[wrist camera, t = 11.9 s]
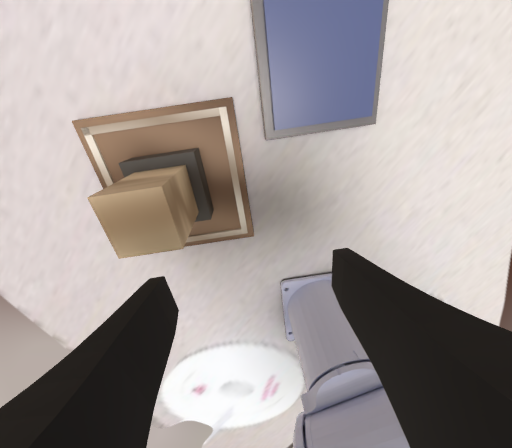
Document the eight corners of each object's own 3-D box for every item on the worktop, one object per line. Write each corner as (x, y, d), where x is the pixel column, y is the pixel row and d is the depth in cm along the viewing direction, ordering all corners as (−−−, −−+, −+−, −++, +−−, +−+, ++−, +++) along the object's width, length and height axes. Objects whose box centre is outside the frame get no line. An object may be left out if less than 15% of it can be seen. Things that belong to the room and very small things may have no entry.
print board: (253, 233, 20) (254, 237, 19) (136, 250, 20) (133, 255, 19) (232, 97, 15) (232, 96, 15) (77, 120, 15) (69, 121, 14)
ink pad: (368, 123, 17) (379, 124, 15) (265, 138, 17) (267, 140, 15) (381, -22, 13) (398, -38, 12) (250, -3, 13) (251, -17, 12)
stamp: (213, 209, 18) (200, 257, 12) (155, 218, 18) (111, 271, 12) (198, 147, 16) (172, 167, 10) (131, 157, 16) (62, 184, 10)
